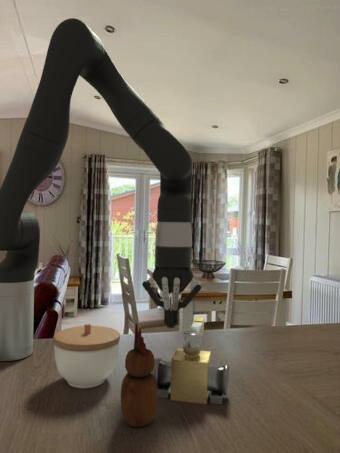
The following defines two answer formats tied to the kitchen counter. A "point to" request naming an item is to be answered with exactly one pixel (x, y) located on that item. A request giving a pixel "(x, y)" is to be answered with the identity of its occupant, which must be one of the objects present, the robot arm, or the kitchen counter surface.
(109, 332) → the lidded bowl
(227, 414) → the kitchen counter surface
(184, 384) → the ball valve
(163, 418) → the kitchen counter surface
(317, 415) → the kitchen counter surface
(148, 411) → the wooden figurine
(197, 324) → the lever
